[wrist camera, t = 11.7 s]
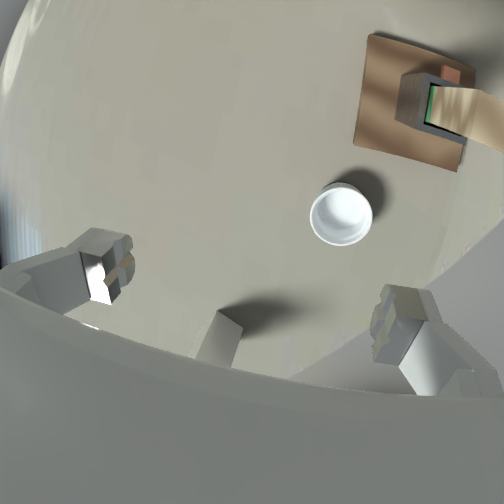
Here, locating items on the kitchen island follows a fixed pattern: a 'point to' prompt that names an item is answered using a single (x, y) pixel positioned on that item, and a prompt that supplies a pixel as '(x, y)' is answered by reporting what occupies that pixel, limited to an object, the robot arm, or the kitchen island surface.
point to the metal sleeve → (424, 101)
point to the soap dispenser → (217, 341)
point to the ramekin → (341, 214)
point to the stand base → (385, 101)
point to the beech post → (467, 114)
